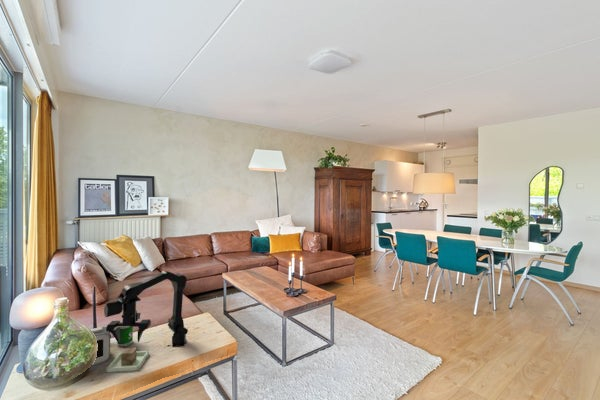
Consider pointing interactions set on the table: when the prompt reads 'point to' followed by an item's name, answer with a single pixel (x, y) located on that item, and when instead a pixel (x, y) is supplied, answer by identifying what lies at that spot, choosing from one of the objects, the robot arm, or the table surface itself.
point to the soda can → (125, 336)
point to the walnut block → (128, 356)
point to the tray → (117, 367)
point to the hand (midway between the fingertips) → (128, 341)
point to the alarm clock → (102, 344)
